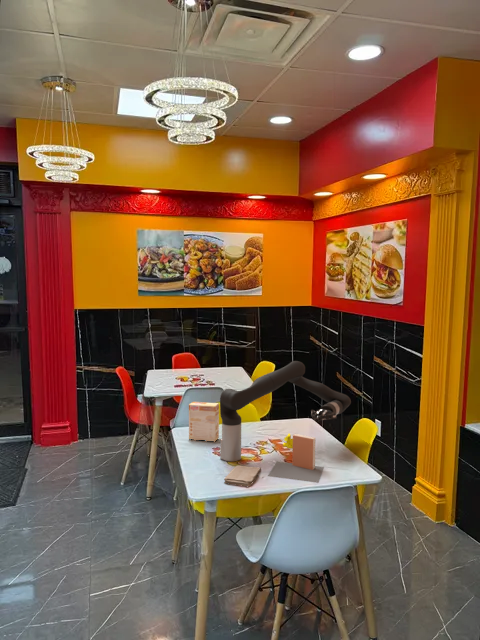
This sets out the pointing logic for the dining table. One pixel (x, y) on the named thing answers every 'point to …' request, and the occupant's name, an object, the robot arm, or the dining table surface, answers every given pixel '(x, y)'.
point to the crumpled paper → (288, 441)
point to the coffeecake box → (204, 421)
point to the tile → (303, 451)
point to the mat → (296, 472)
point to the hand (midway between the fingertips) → (316, 418)
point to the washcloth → (242, 475)
